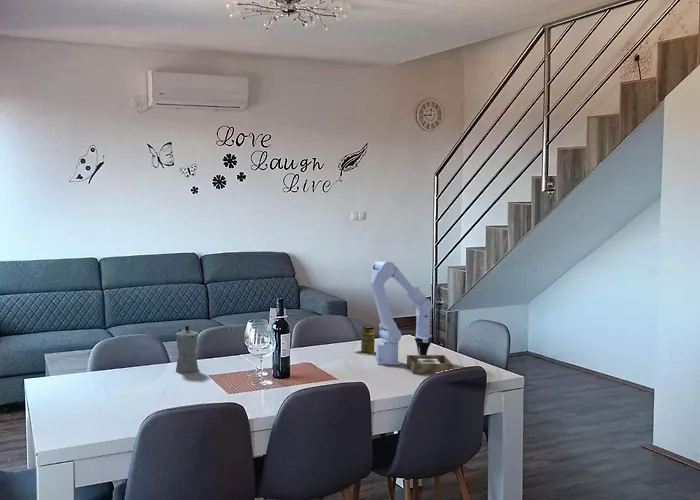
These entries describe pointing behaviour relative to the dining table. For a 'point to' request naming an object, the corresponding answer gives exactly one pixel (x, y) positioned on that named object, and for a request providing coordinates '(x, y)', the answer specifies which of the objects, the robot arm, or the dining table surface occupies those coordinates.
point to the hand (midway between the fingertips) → (422, 355)
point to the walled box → (428, 363)
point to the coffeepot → (186, 351)
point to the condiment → (367, 341)
